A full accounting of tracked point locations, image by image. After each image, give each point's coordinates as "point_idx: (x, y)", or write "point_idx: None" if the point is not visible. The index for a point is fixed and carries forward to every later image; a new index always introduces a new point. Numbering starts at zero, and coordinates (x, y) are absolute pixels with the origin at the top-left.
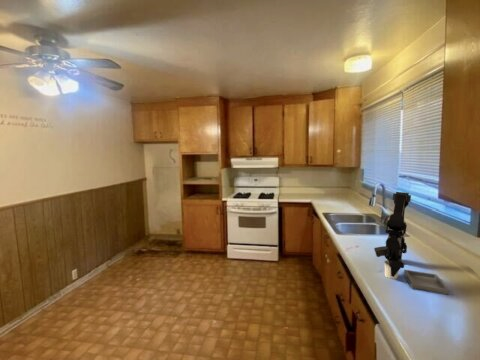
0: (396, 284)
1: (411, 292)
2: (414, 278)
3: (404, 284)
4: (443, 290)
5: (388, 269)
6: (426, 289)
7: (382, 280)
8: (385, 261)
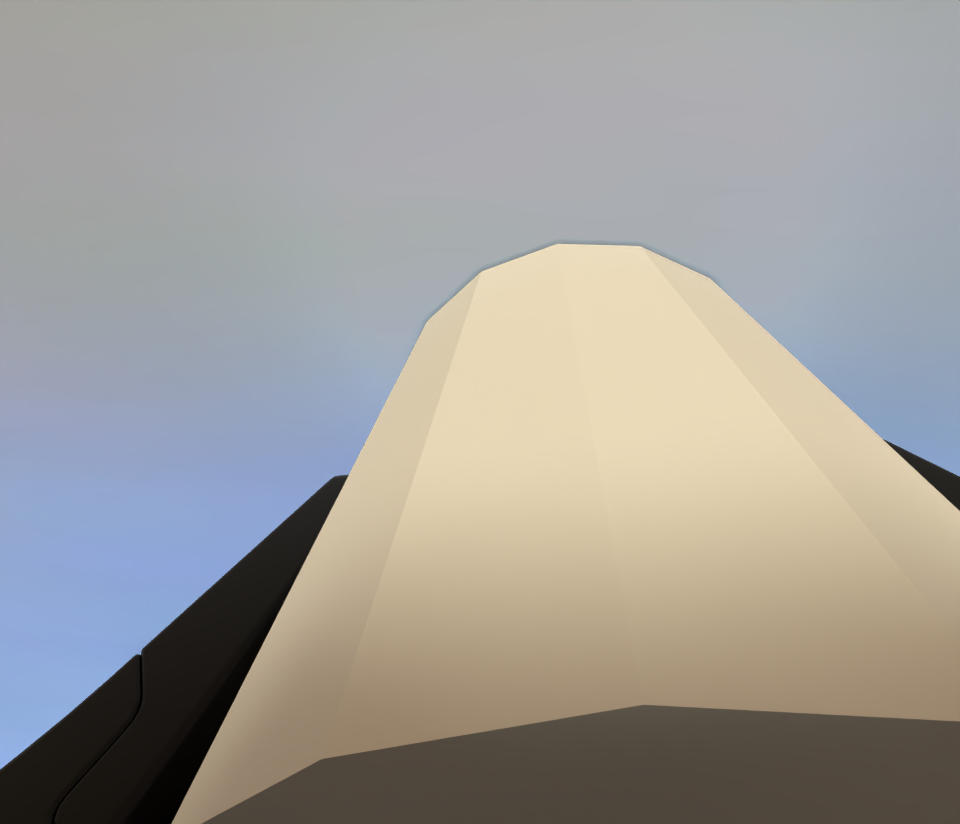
0: (140, 496)
1: (14, 669)
2: None
3: None
4: None
5: (319, 546)
6: None
7: (79, 156)
8: (940, 796)
